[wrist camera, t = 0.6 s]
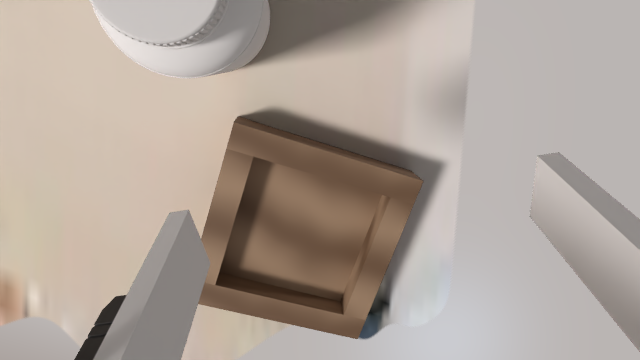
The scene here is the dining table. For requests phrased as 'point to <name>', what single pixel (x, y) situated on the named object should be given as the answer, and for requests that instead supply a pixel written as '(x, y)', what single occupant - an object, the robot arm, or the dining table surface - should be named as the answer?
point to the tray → (302, 229)
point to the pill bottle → (186, 33)
